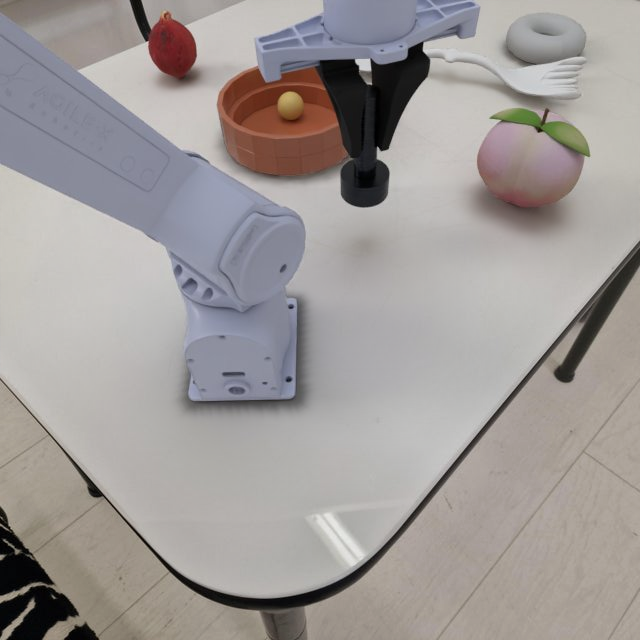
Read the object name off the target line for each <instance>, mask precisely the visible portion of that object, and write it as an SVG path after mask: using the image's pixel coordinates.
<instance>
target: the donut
mask: <svg viewBox="0 0 640 640" xmlns="http://www.w3.org/2000/svg"><path fill="white" fill-rule="evenodd" d="M586 42H587V32H586V31H585V29H584V28H583V26H582V24H581V23H580V22H578V21H577V20H576V19H573V18H571V17H569V16H566V15H563V14H559V13H553V12H533V13H529V14H528V13H527V14H525V15H523V16H520V17H518V18H517V19H516V20H515V21H513V22H512V23H511V24H510V25H509V27H508V29H507V32H506V35H505V43H506V46H507V48H508V50H509V51H510V53H512V54H513V56H514V57H516V58H518V59H520V60H522V61H523V62H527V63H530V64H532V65H533V64H534V65H540V64H548V63H553V62H557V61H561V60H564V59H569V58H573V57H579V55H580V54H581V53H582V52H583V51H584V49H585V47H586V44H587V43H586Z"/></svg>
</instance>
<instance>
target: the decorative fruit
mask: <svg viewBox="0 0 640 640" xmlns="http://www.w3.org/2000/svg"><path fill="white" fill-rule="evenodd" d="M489 120H496V121H497V120H498V122H497V123H496V124H495V125H493V126H492V127H491V128H490V130H489V131H488V132H487V134H485V135H486V136H485V137H484V139H483V140H482V142H481V145H480V147H479V149H478V151H477V156H476V166H477V170H478V171H477V172H478V174H479V176H480V178H481V180H482V182H483V184H484V185H485V186H486V187H487V188H488V190H489V191H490V192H491V193H492V194H493V195H494V196H495V197H497V198H498V199H499V200H501V201H503V202H506V203H510V204H513V205H516V206H518V207H519V208H536V207H537V208H538V207H545V206H547V205H551V204H553V203H556V202H558V201H560V200H561V199H563V198H565V197H566V196H568V195H569V194H570V193H571V192H572V190H573V189H574V188H575V187H576V186H577V184H578V182H579V179H580V177H581V174H582V171H583V168H584V164H585V159H586V158H591V151H590V146H589V144H588V141H587V139H586V138H585V136H584V134H583V133H582V132H581V131H580V130H579V128H577V127H576V126H575V125H574V124H573V123H572V122H571V121H570V120H568V119H567V118H565V117H563V116H561V114H558V113H554V112H551V111H550V108H548V107H545V109H544V110H541V109H534V110H533V109H532V110H530V109H528V108H523V107H511V108H507V109H503V110H501V111H498V112H496V113H494V114H492V115H491V116H489ZM585 157H586V158H585Z"/></svg>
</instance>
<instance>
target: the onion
mask: <svg viewBox="0 0 640 640" xmlns="http://www.w3.org/2000/svg"><path fill="white" fill-rule="evenodd" d="M147 43H148V44H147V45H148V46H147V48H148V49H147V50H148V55H149V57H150V59H151V61H152V62H153V64H154V65H155V66H156V68H157V69H158V70H159V71H161V72H162V73H163V74H166V75H167V76H170V77H173V78H175V79H179V80H180V79H183V78H184V77H185V76H186V74H188V73H189V71H191V69H192V68H193V66H194V65H195V63H196V61H197V56H198V53H197V51H198V50H197V43H196V40H195V37H194V35H193V34H192V32H191V31H190V30H189V29H188V28H187V27H186V26H185V25H184V24H182V23H181V22H180V21H178V20H176V19H173V18H172V13H171V12H170V11H168V10H166V9H165V10H163V11H161V13H160V16H159V20H158V21H157V22H156V23H155V24H154V25H153V27H152V28H151V30H150V32H149V35H148V42H147Z"/></svg>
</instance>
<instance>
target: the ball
mask: <svg viewBox="0 0 640 640" xmlns="http://www.w3.org/2000/svg"><path fill="white" fill-rule="evenodd" d="M303 109H304V103H303V100H302V98H301V97H300V95H298V94H297V93H295V92H286V93H284V94H283V95H281V97H280V98H279V100H278V111H279V113H280V115H281V116H282V117H283V118H285V119H287V120H295V119H297V118H298V117H300V116H301V114H302V112H303Z"/></svg>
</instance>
